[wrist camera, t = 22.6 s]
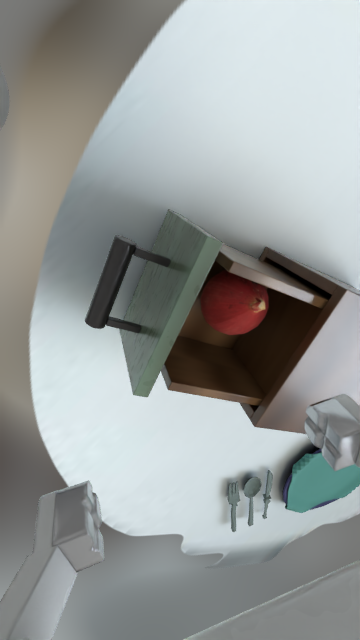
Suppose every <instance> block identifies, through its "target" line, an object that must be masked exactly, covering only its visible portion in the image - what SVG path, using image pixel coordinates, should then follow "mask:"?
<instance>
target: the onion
mask: <svg viewBox="0 0 360 640" xmlns="http://www.w3.org/2000/svg"><path fill="white" fill-rule="evenodd" d="M200 300H201V311H202V314H203V316H204V318H205V320H206V322H207V323H208V324H209V325H210V326H211V327H212V328H213V329H214V330H216V331H219V332H221V333H224V334H227V335H237V334H245V333H247V332H249V331H251V330H253V329H254V328H256V327H257V326H259V324H260V323H261V322H262V320H263V319H264V318H265V316H266V313H267V310H268V307H269V296H268V293H267V290H266V287H265V286H263V285H261V284H258V283H255V282H253V281H250V280H248V279H245V278H243V277H240V276H238V275H235V274H233V273H230V272H228V271H227V270H223V271H222V272H220V273H218V274H217V275H215V276H214V277H212V278H211V279H210V280H209V282H208V283H207V284H206V286H205V287H204V289H203V292H202V296H201V299H200Z"/></svg>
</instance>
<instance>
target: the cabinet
mask: <svg viewBox="0 0 360 640" xmlns="http://www.w3.org/2000/svg"><path fill="white" fill-rule="evenodd" d="M259 260H261V261H263V262H266V263H268V264H270V265H273V266H275V267H277V268H279V269H281V270H283V271H285V272H286V273H288V274H290V275H291V276H293V277H295V278H296V279H298V280H300V281H301V282H303V283H305V284H306V285H308V286H310V287H311V288H313V289H315V290H316V291H318V292H320V293H321V294H323V295H324V296H326V297H328V298H329V299H330V300H329V301H328V303H327V304H326V306H325V307H324V309H323V310H322V312H321V313H320V315H319V316H318V318H317V319H316V321H315V322H314V324H313V325H312V327H311V328H310V330H309V331H308V333H307V334H306V336H305V337H304V339H303V340H302V342H301V343H300V345H299V346H298V348H297V350H296V351H295V353H294V354H293V356H292V357H291V359H290V360H289V362H288V363H287V365H286V366H285V368H284V369H283V371H282V372H281V374H280V375H279V377H278V378H277V380H276V381H275V383H274V384H273V386H272V387H271V389H270V390H269V392H268V393H267V395H266V396H265V398H264V399H263V401H262V402H261V404H260V405H259V406H257V405H251V404H245V403H240V402H239V403H240V404H241V406H242V408H243V409H244V411H245V412H246V414H247V416H248V417H249V419H250V420H251V422H252V424H253V425H254V427H260V428H267V429H274V430H281V431H289V432H296V433H303V434H306V431H305V427H304V426H305V420H306V419H307V417H308V415H307V413H306V408H307V407H308V406H309V405H312V404H314V403H317V402H320V401H323V400H325V399H328V398H332V397H335V396H338V395H341V394H346V395H348V396H349V397H350V398H352V399H353V400H354V401H355V402H356V403H357V404H358V405H359V406H360V290H358V289H356V288H354V287H352V286H349V285H347V284H345V283H343V282H341V281H339V280H337V279H334V278H332V277H330V276H328V275H326V274H324V273H322V272H320V271H317V270H315V269H313V268H311V267H309V266H307V265H305V264H302V263H300V262H298V261H296V260H294V259H292V258H290V257H288V256H285V255H283V254H281V253H279V252H277V251H275V250H273V249H270V248H268V247H265V249H264V251H263V253H262V255H261V256H260V258H259Z"/></svg>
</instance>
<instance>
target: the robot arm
mask: <svg viewBox="0 0 360 640" xmlns="http://www.w3.org/2000/svg"><path fill="white" fill-rule="evenodd" d="M306 413H307V415H308V417H307V419H306V420H305V426H304V427H305V431H306V434H307V436H308V438H309V439H310V441H311V442H312V443H313V445H314V446H316V447H318V448H321V449H322V456H323V457H324V459H325V460H326V461H327V462H328V464H329V465H330V466H331V467H332V469H333V470H334V471H337V470H340V469H343V468H345V467H348V466H351V465H354V464H356V466H357V467H359V468H360V406H359V405H358V404H357V403H356V402H355V401H354V400H353V399H352V398H350V397H349V396H348V395H346V394H341V395H338V396H335V397H332V398H328V399H325V400H323V401H320V402H317V403H314V404H312V405H309V406H308V407H307V408H306ZM101 524H102V517H101V509H100V504H99V500H98V497H97V495H96V494H95V493H93V492H92V485H91V483H90V481H86V482H83V483H80V484H77V485H74V486H71V487H68V488H64V489H61V490H58V491H55V492H52V493H49V494H46V495H43V496H41V497H40V500H39V502H38V510H37V519H36V527H35V536H34V544H33V553H32V554H31V555H28V556H27V557H26V559H25V561H24V563H23V564H22V566H21V567H20V569H19V571H18V572H17V574H16V576H15V578H14V579H13V581H12V583H11V584H10V586H9V588H8V589H7V591H6V593H5V594H4V596H3V598H2V599H1V601H0V640H52V637H53V635H54V632H55V630H56V627H57V625H58V622H59V619H60V617H61V614H62V612H63V609H64V607H65V604H66V602H67V599H68V597H69V594H70V592H71V589H72V587H73V584H74V582H75V579H76V576H77V572H78V571H81V570H83V569H86V568H88V567H90V566H93V565H95V564H97V563H100V562H102V561H104V549H103V537H102V535H101V533H100V531H99V528H100V526H101ZM184 640H360V560H358V561H356V562H354V563H351V564H349V565H347V566H345V567H343V568H340V569H338V570H336V571H334V572H331V573H329V574H327V575H325V576H323V577H321V578H318V579H316V580H314V581H312V582H309V583H307V584H305V585H303V586H301V587H298V588H296V589H294V590H292V591H290V592H287V593H285V594H283V595H281V596H279V597H276V598H274V599H272V600H270V601H268V602H265V603H263V604H261V605H259V606H257V607H254V608H252V609H250V610H248V611H246V612H243V613H241V614H239V615H237V616H235V617H232V618H230V619H228V620H226V621H224V622H222V623H219V624H217V625H215V626H212V627H210V628H208V629H206V630H204V631H202V632H199V633H197V634H195V635H193V636H190V637H188V638H186V639H184Z"/></svg>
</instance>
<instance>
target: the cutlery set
mask: <svg viewBox="0 0 360 640" xmlns="http://www.w3.org/2000/svg"><path fill="white" fill-rule="evenodd" d="M272 478H273V475H272V473H271V471H270V470H268V474H267V484H266V493H265V494H263V496H264V498H265V499H263V500H264V503H265V510H264V515H262V516H263V518H264V519H265V518H267V517H266V512H267V508H268V504H269V502H270V500H269V499H271V497H270V495H269V494H270V491H271V486H272ZM359 484H360V468H359V467H357V466H356V464H354V465H351V466H348V467H345V468H343V469H340V470H337V471H334V470H333V469H332V467H331V466H330V465H329V464H328V462H327V461H326V460H325V459H324V457H323V456H322V449H321V448H320V449H319V450H317V451H315V452H314V453H312V454H305V455H304V456H303V457H302V458H301V459H300V460H299V461H298V462H297V463H295V464H294V465H293V468H292V474H291V475H290V476H289V478H288V479H287V481H286V484H285V486H284V489H283V500H284V502H285V503H286V506H285V508H286V509H288V510H292V511H295V512H299V513H303V512H306V511H308V510H311V509H314V508H318V507H322V506H325V505H327V504H329V503H331V502H333V501H335V500H337V499H339V498H343V497H345V496H347V495H348V494H349V493H351V492H352V490H355V488H356V487H358V486H359ZM260 487H261V481H260V479H259V478H257V477H254V478H251V479H249V480H248V481H247V482H246V483H245V486H244V489H243V490H244V494H245V496H246V497H248V498H250V505H249V518H248V525H249V526H251V525H253V497H254V496H255V495H256V494H257V493H258V492H259V490H260ZM239 501H240V498H239V490H238V481H236V486H235V483H234V482H233V484H232V489H231V483H230V484H229V493H228V502H229V504H232V508H231V529H232V531H233V532H235V531H236V506H238V505H237V502H239Z"/></svg>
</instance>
